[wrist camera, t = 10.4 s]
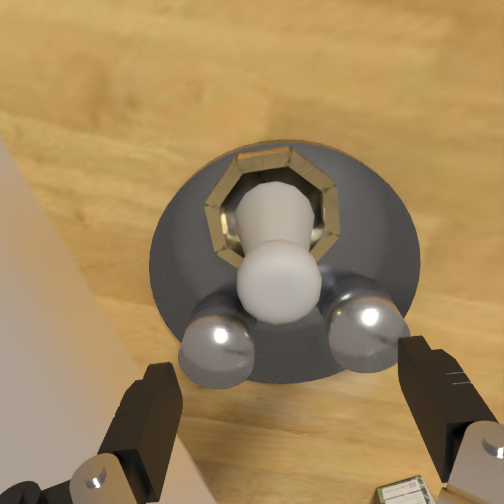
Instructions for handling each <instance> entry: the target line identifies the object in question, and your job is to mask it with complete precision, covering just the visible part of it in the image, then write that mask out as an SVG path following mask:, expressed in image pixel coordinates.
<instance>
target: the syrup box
mask: <svg viewBox="0 0 504 504" xmlns="http://www.w3.org/2000/svg"><path fill="white" fill-rule="evenodd" d="M377 491H378V495H379V499H380V503H381V504H436V503H435V501H434V499H433V497H432V495H431V494H430V492H429V490H428V488H427V486H426V484H425V482H424V480H423V478H422V477H421V476H417V477H414V478H411V479H407V480H404V481H400V482H397V483H394V484H390V485H387V486H383V487H380V488H378V489H377Z"/></svg>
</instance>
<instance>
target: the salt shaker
mask: <svg viewBox="0 0 504 504" xmlns="http://www.w3.org/2000/svg"><path fill="white" fill-rule="evenodd" d="M313 222H314V213H313V210H312V208H311V205H310V202H309V200H308V199H307V198H306V197H305V196H304V195H303V194H302V193H301V192H300V191H299V190H298V189H297V188H296V187H295V186H292V185H289V184H286V183H282V182H279V181H275V182H268V183H262V184H259V185H257V186H256V187H254V188H253V189H251V190H250V191H248V192H247V193H245V195H244V196H243V198H242V200H241V202H240V203H239V205H238V207H237V209H236V210H235V229H236V232H237V234H238V237H239V240H240V243H241V246H242V248H243V251H244V254H245V257H244V259H243V261H242V262H241V264H240V265H239V267H238V271H237V293H238V296H239V299H240V301H241V303H242V305H243V307H244V309H245V311H247V312H248V313H249V314H251V315H252V316H253V317H255V318H256V319H257V320H259V321H263V322H266V323H270V324H274V325H280V324H287V323H294V322H296V321H297V320H299V319H301V318H303V317H305V316H307V315H309V314H310V312H311V311H312V309H313V308H314V307H315V305H316V304H317V303H318V301H319V297H320V291H321V285H322V277H321V274H320V272H319V269H318V267H317V264H316V262H315V259H314V257H313V256H312V255H311V254H310V253H309V249H310V242H311V235H312V229H313Z"/></svg>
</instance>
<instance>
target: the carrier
mask: <svg viewBox="0 0 504 504" xmlns="http://www.w3.org/2000/svg"><path fill="white" fill-rule="evenodd" d="M275 181H279V182H282V183H286V184H289V185H292V186H295V187H296V188H297V189H298V190H299V191H300V192H301V193H302V194H303V195H304V196H305V197H306V198H307V199H308V200H309V202H310V205H311V208H312V210H313V213H314V222H313V229H312V235H311V242H310V249H309V253H310V254H311V255H312V256H313V257H314V259H315V262H316V264H317V267H318V269H319V272H320V274H321V277H322V285H321V291H320V297H319V301H318V303H317V304H316V305H315V307H314V308H313V309H312V311H311V312H310V314H309V315H307V316H305V317H303V318H301V319H299V320H297V321H296V322H294V323H287V324H280V325H274V324H270V323H266V322H263V321H259V320H257V319H256V318H255V317H253V316H252V315H251V314H249V313H248V312H247V311H245V309H244V307H243V305H242V303H241V301H240V299H239V296H238V293H237V271H238V267H239V265H240V264H241V262H242V261H243V259H244V257H245V254H244V251H243V248H242V246H241V243H240V240H239V237H238V234H237V232H236V229H235V210H236V209H237V207H238V205H239V203H240V202H241V200H242V198H243V196H244V195H245V193H247V192H248V191H250V190H251V189H253V188H254V187H256V186H257V185H259V184H262V183H268V182H275ZM149 272H150V283H151V288H152V292H153V296H154V299H155V302H156V304H157V307H158V309H159V312H160V314H161V316H162V317H163V319H164V321H165V323H166V325H167V326H168V327H169V329H170V330H171V331H172V333H173V334H174V335H175V337H176V338H177V339H178V340H179V341H180V342H181V347H180V350H179V355H178V359H179V364H180V367H181V369H182V371H183V372H184V374H185V375H186V376H187V377H188V378H189V379H190V380H192V381H193V382H195V383H197V384H199V385H201V386H204V387H207V388H213V389H225V388H230V387H233V386H236V385H238V384H240V383H241V382H243V381H244V380H245V379H247V380H251V381H258V382H264V383H280V384H285V383H300V382H306V381H313V380H317V379H321V378H324V377H328V376H331V375H333V374H336V373H339V372H341V371H344V370H346V369H348V370H351V371H354V372H358V373H375V372H379V371H383V370H385V369H388V368H390V367H392V366H393V365H395V364H396V363H397V362H398V339H399V338H402V337H410V331H409V328H408V326H407V324H406V322H405V321H404V317H405V316H406V314H407V312H408V310H409V308H410V306H411V303H412V301H413V298H414V296H415V293H416V289H417V285H418V281H419V273H420V247H419V242H418V238H417V233H416V229H415V227H414V224H413V222H412V219H411V216H410V214H409V212H408V211H407V209H406V207H405V205H404V204H403V202H402V200H401V199H400V198H399V196H398V195H397V194H396V193H395V191H394V190H393V189H392V188H391V186H390V185H389V184H388V183H386V182H385V181H384V180H383V179H382V178H381V177H380V176H379V175H378V174H377V173H375V172H374V171H373V170H372V169H371V168H369V167H368V166H366V165H365V164H364V163H362V162H361V161H359V160H358V159H356V158H355V157H353V156H351V155H349V154H347V153H344V152H342V151H340V150H338V149H335V148H332V147H329V146H326V145H323V144H320V143H314V142H308V141H303V140H272V141H262V142H258V143H254V144H249V145H245V146H242V147H240V148H237V149H234V150H232V151H229V152H226V153H225V154H223V155H221V156H219V157H217V158H216V159H214V160H212V161H210V162H209V163H207V164H206V165H205V166H203V167H202V168H201V169H199V170H198V171H197V172H195V173H194V174H193V175H192V176H191V177H190V178H189V179H188V180H187V181H186V182H185V183H184V184H183V185H182V187H181V188H180V189H179V191H178V192H177V193H176V195H175V196H174V197H173V199H172V200H171V201H170V203H169V204H168V205H167V207H166V209H165V211H164V213H163V214H162V216H161V218H160V220H159V222H158V225H157V228H156V230H155V233H154V236H153V240H152V245H151V250H150V261H149Z"/></svg>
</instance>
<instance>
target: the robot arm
mask: <svg viewBox="0 0 504 504" xmlns="http://www.w3.org/2000/svg"><path fill="white" fill-rule="evenodd" d="M398 377H399V382H400V386H401V390H402V392H403V395H404V397H405V399H406V401H407V404H408V406H409V408H410V411H411V413H412V415H413V417H414V420H415V422H416V424H417V427H418V429H419V431H420V433H421V436H422V438H423V440H424V443H425V445H426V447H427V449H428V452H429V454H430V456H431V458H432V461H433V463H434V465H435V468H436V470H437V472H438V474H439V477H440V479H441V481H442V483H447V482H448V483H447V486H446V488H444V487H443V488H442V489H441V491H440V493H439V496H438V499H437V501H436V504H504V425H503V424H500V423H499V422H498V421H497V420H496V418H495V417H494V415H493V414H492V412H491V411H490V409H489V408H488V406H487V405H486V403H485V402H484V400H483V399H482V397H481V396H480V395H479V393H478V392H477V390H476V389H475V387H474V386H473V384H471V383H470V380H469V378H468V377H467V375H466V374H465V373H464V372H463V370H462V368H461V367H460V365H459V364H458V362H457V361H456V359H455V358H453V357H452V356H451V355H449V354H448V353H446V352H445V351H444V350H442V349H437V350H431V349H430V347H429V345H428V344H427V342H426V340H425V339H424V337H423V336H412V337H402V338H399V339H398ZM182 407H183V400H182V394H181V390H180V387H179V384H178V381H177V377H176V374H175V371H174V368H173V365H172V363H170V362H166V363H157V364H150V365H149V366H148V367H147V370H146V372H145V375H144V377H143V379H142V380H136V381H135V382H134V383H133V384H132V385H131V386H130V387H129V389H127V390H126V392H125V394H124V396H123V398H122V400H121V403H120V406H119V407H118V409H117V411H116V413H115V417H114V418H113V420H112V422H111V424H110V427H109V429H108V431H107V433H106V436H105V438H104V440H103V442H102V444H101V446H100V449H99V451H98V453H97V455H96V456H93V457H92V458H90V459H88V460H87V461H85V462H84V463H83V464H82V465H81V466H80V467H79V468H78V469H77V470H76V471H75V473H74V474H73V476H72V478H71V479H70V480H68V481H66V482H63V483H61V484H58V485H55V486H53V487H50V488H47V489H45V490H42V491H41V489H40V487H39V486H38V484H37V483H35V482H33V481H25V482H21V483H18V484H16V485H14V486H12V487H10V488H8V489H7V490H6V491H4V492H3V493H2V494H1V495H0V504H146V503H150V502H159V499H160V496H161V492H162V488H163V484H164V480H165V476H166V472H167V468H168V464H169V460H170V456H171V452H172V449H173V445H174V441H175V437H176V433H177V429H178V425H179V421H180V417H181V414H182Z"/></svg>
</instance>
